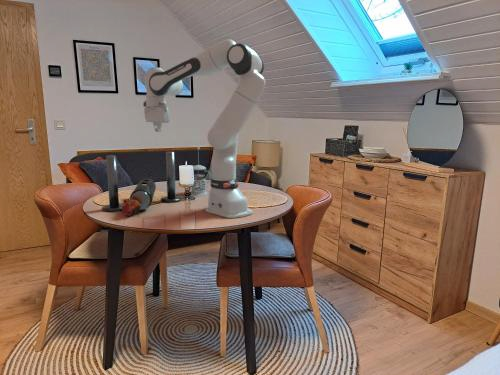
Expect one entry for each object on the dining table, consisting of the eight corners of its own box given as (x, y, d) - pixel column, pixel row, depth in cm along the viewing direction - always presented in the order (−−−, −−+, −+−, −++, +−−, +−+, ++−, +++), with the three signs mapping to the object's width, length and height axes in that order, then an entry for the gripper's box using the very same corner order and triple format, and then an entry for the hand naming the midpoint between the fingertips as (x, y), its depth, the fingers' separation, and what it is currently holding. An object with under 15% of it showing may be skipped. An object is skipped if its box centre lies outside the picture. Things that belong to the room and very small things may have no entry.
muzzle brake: (156, 197, 184) (156, 177, 182) (152, 212, 157) (151, 189, 155) (137, 197, 183) (136, 177, 180) (129, 213, 156) (128, 190, 154)
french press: (187, 191, 197) (186, 146, 192) (207, 190, 202) (207, 145, 197) (192, 195, 189) (191, 148, 183) (213, 193, 193) (213, 147, 188)
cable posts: (185, 200, 178) (184, 152, 173) (106, 213, 155) (102, 158, 150) (176, 196, 185) (174, 150, 180) (99, 207, 162) (95, 155, 157)
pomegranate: (143, 218, 156) (129, 202, 158) (149, 207, 152) (134, 191, 154) (130, 224, 150) (115, 208, 152) (135, 213, 146) (120, 196, 148)
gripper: (172, 102, 167) (173, 132, 170) (153, 103, 183) (155, 130, 186) (159, 102, 163) (161, 133, 166) (141, 103, 179) (143, 131, 182)
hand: (157, 131), depth 176 cm, fingers closed
